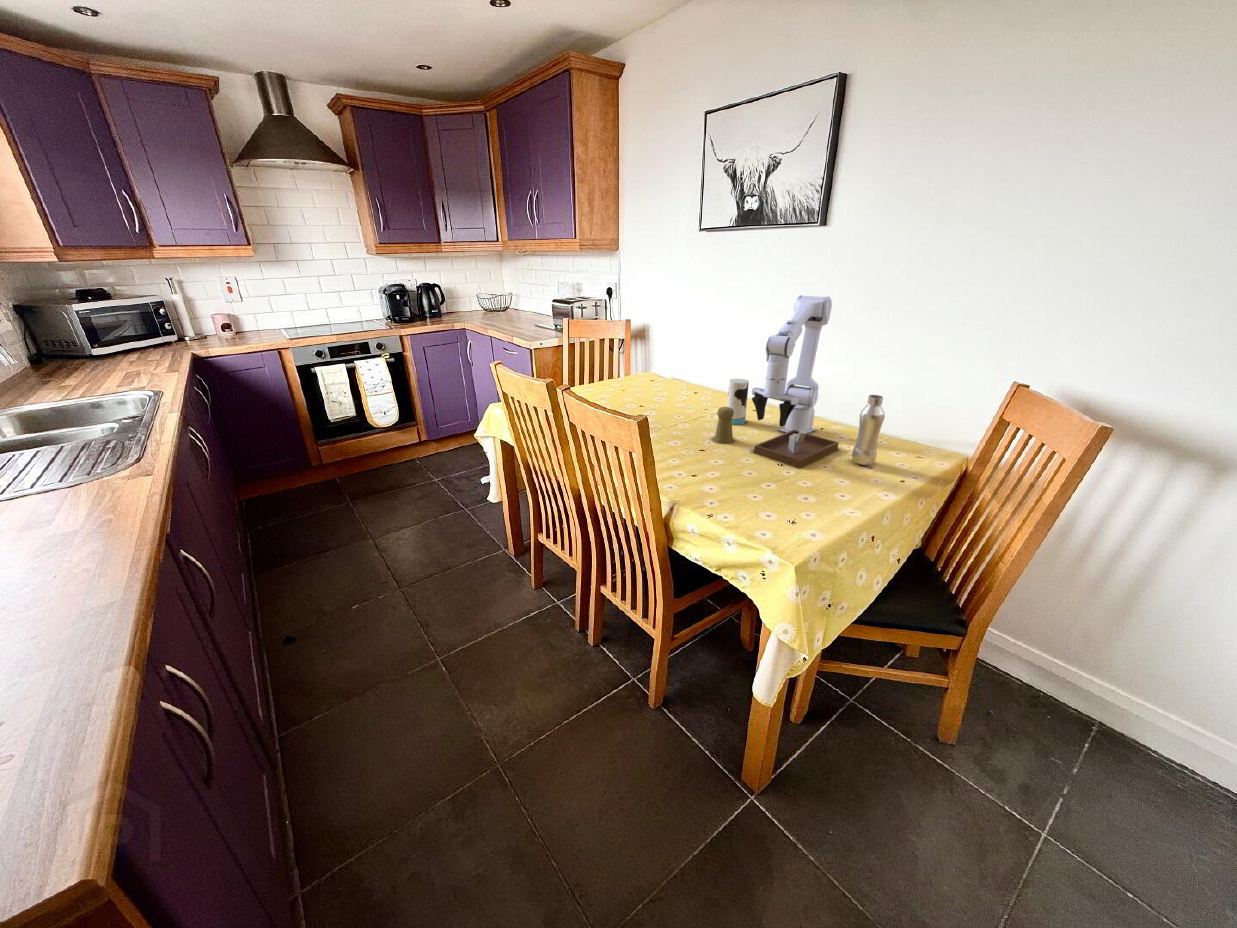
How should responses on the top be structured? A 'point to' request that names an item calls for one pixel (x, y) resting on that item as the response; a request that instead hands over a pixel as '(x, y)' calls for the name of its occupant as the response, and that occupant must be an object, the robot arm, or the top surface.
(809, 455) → the tray
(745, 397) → the cup
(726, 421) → the pawn
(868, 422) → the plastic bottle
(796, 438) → the lighter
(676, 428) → the top surface
